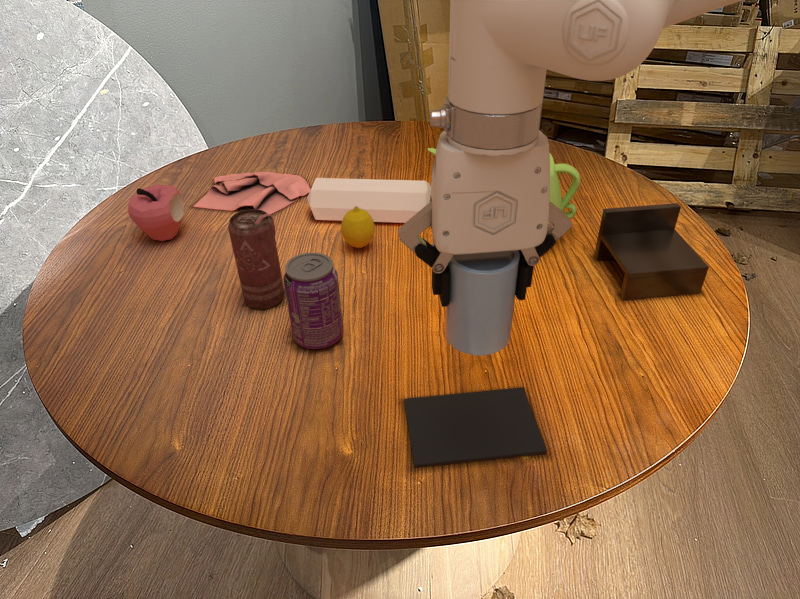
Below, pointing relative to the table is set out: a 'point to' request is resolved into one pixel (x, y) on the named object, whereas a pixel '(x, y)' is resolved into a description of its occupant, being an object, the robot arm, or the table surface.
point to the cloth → (254, 192)
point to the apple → (157, 211)
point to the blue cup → (481, 301)
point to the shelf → (650, 251)
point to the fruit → (357, 227)
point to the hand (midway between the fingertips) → (480, 293)
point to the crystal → (368, 198)
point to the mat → (472, 427)
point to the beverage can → (313, 300)
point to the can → (256, 258)
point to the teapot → (557, 186)
